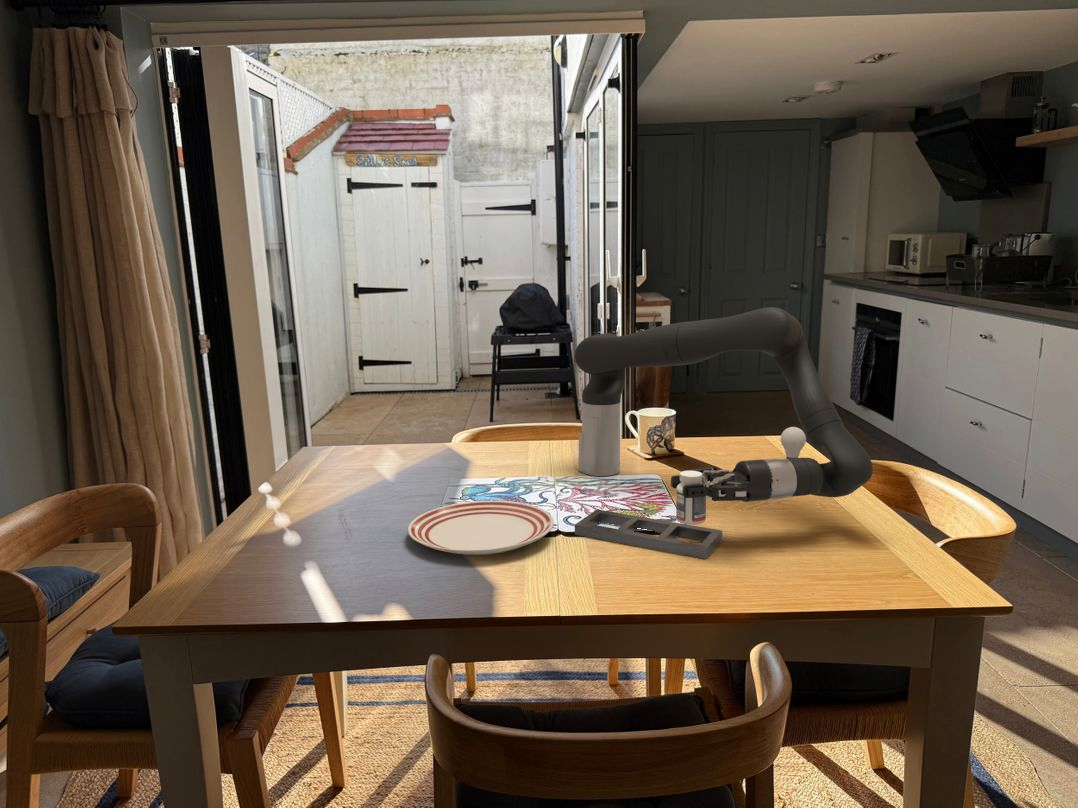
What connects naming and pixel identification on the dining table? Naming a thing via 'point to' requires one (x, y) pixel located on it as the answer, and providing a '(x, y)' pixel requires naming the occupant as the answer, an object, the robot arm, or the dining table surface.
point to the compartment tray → (660, 543)
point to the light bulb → (793, 441)
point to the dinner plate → (481, 527)
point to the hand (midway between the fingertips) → (677, 486)
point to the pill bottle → (690, 501)
